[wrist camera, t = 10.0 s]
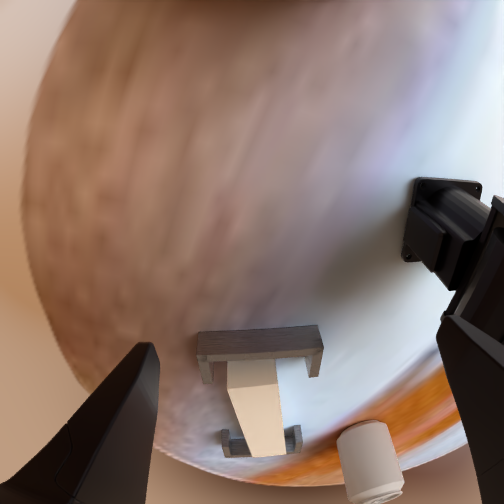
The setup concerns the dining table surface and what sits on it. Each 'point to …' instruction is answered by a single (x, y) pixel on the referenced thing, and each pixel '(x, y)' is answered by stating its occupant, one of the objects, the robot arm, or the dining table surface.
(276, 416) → the beige wooden bar
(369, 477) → the can
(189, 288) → the dining table surface
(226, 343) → the end caps
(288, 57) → the dining table surface
